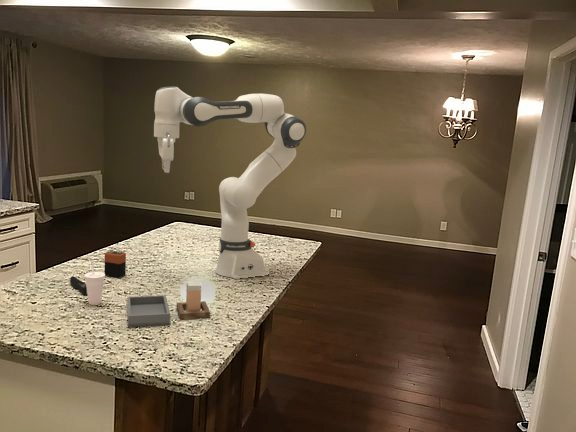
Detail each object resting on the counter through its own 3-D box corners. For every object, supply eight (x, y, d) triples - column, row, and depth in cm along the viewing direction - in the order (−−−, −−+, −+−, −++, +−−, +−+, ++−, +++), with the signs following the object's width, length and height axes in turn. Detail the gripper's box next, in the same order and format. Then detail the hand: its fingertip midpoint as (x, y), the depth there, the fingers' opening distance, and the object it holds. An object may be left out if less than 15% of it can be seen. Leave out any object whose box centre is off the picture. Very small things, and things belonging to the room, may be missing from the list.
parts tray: (165, 305, 161) (165, 295, 161) (169, 324, 147) (170, 313, 146) (127, 307, 157) (127, 296, 157) (127, 327, 143) (128, 316, 142)
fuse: (198, 310, 159) (199, 281, 157) (200, 315, 155) (201, 285, 154) (185, 311, 158) (186, 281, 156) (187, 315, 154) (188, 286, 152)
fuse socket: (205, 306, 163) (205, 301, 162) (209, 318, 154) (210, 312, 153) (176, 308, 159) (176, 302, 159) (179, 319, 151) (179, 313, 150)
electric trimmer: (78, 283, 177) (78, 274, 177) (95, 295, 166) (95, 286, 166) (67, 284, 175) (67, 276, 174) (84, 297, 164) (84, 288, 163)
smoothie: (87, 299, 162) (87, 258, 159) (107, 299, 162) (107, 259, 160) (81, 306, 155) (81, 264, 153) (102, 307, 156) (102, 265, 153)
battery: (119, 278, 184) (119, 253, 182) (103, 275, 185) (104, 250, 184) (126, 275, 188) (126, 250, 186) (110, 272, 190) (110, 248, 188)
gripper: (178, 134, 165) (177, 174, 168) (173, 132, 184) (172, 168, 187) (159, 133, 163) (158, 174, 166) (156, 130, 182) (155, 167, 185)
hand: (165, 171), depth 177 cm, fingers open, 8 cm apart
